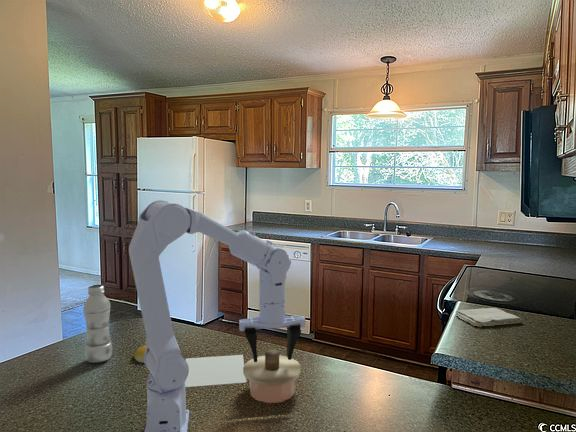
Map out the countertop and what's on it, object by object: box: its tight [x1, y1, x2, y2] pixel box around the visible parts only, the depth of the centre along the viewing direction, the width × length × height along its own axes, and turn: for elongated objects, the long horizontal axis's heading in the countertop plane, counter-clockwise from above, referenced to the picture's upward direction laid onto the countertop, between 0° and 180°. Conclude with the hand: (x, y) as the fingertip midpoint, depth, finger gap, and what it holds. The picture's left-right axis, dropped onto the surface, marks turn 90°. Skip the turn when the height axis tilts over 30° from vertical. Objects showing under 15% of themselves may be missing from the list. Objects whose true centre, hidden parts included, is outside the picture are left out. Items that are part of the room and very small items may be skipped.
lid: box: [243, 349, 302, 386], centre depth 95 cm, size 13×13×4 cm
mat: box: [185, 354, 247, 388], centre depth 105 cm, size 15×15×1 cm
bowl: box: [249, 379, 296, 404], centre depth 95 cm, size 10×10×5 cm
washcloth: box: [455, 307, 523, 323], centre depth 143 cm, size 12×18×3 cm, turn 105°
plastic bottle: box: [83, 283, 113, 364], centre depth 110 cm, size 6×7×20 cm
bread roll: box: [133, 344, 146, 364], centre depth 113 cm, size 8×9×4 cm
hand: (272, 359), depth 95 cm, fingers open, 7 cm apart
